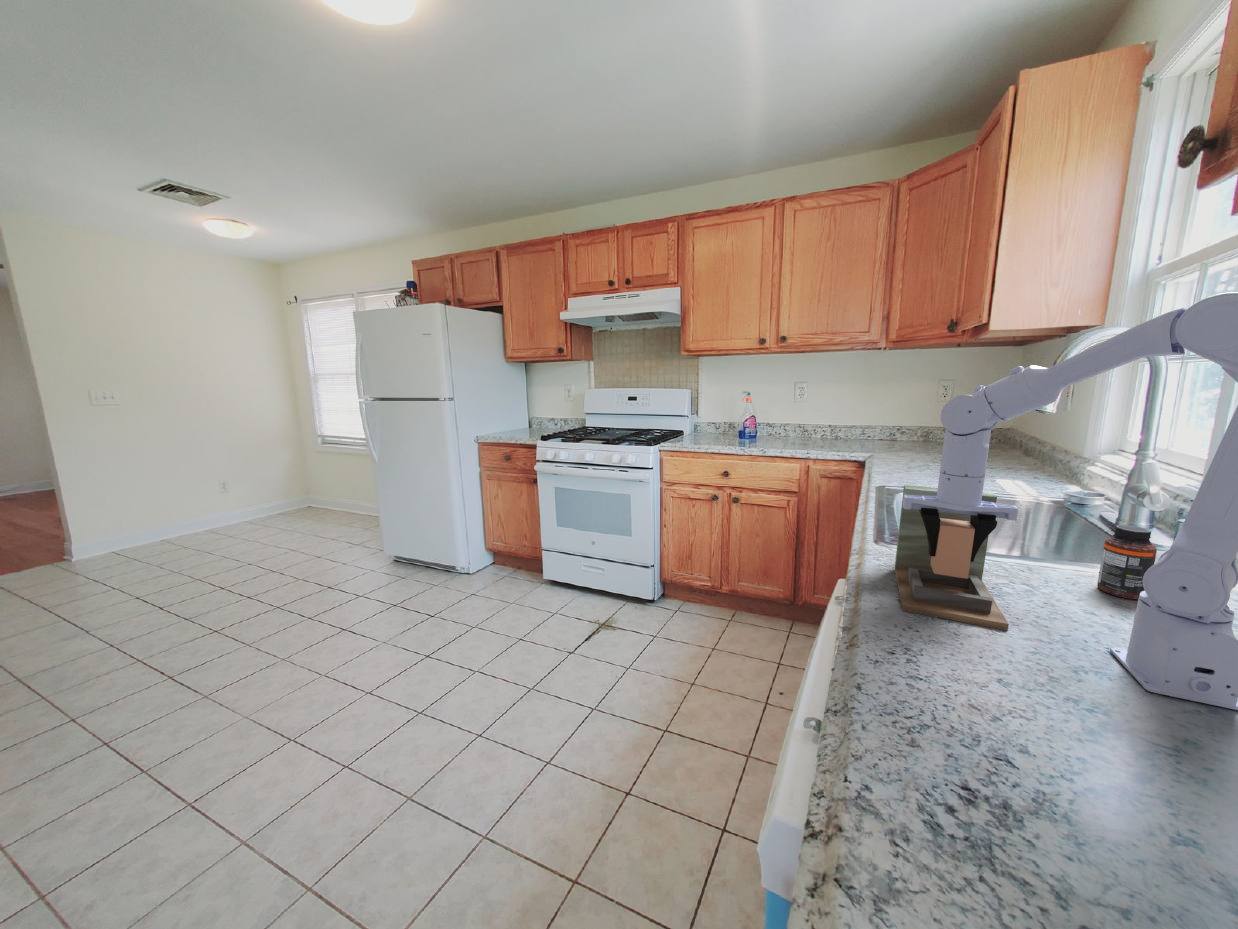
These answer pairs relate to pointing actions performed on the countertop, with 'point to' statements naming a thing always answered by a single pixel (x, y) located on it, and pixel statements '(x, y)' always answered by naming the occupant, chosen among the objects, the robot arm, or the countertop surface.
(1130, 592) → the supplement bottle
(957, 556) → the peg
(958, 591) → the socket stand
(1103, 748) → the countertop surface
